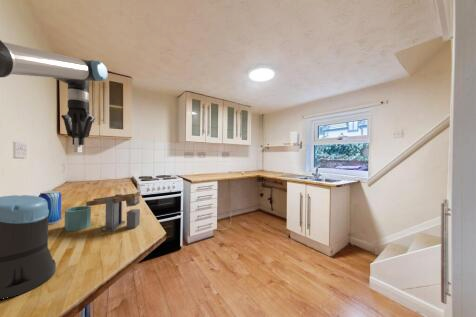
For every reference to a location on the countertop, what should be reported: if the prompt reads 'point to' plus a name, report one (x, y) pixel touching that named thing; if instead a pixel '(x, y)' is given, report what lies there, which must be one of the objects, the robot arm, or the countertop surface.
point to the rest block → (133, 218)
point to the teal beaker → (77, 218)
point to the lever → (118, 199)
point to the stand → (113, 214)
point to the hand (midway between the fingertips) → (78, 152)
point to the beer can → (53, 205)
